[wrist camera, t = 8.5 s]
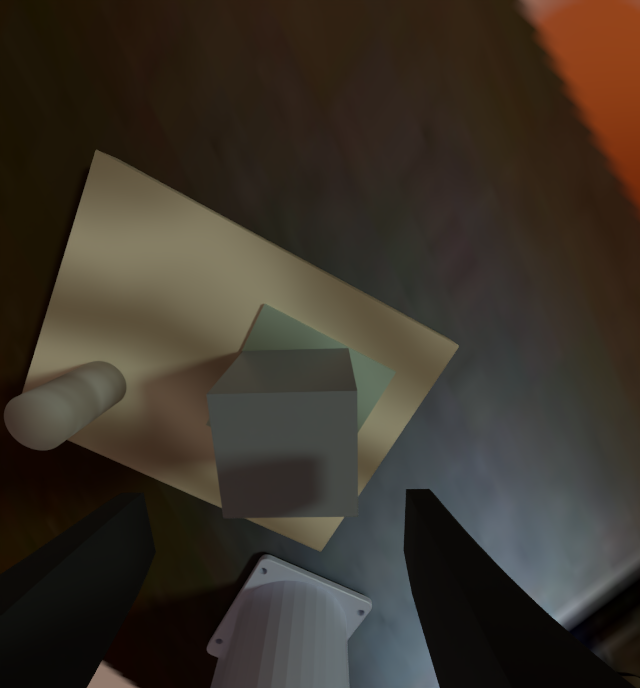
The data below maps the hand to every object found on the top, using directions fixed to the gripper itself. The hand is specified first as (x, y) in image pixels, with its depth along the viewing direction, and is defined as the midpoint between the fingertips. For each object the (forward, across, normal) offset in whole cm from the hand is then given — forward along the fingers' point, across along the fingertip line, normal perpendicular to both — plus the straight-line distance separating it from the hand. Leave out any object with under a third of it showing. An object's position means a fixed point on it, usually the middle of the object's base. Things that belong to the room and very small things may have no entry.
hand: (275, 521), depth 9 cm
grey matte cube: (+8, 0, 0) cm, 8 cm away
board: (+9, +4, -1) cm, 10 cm away
